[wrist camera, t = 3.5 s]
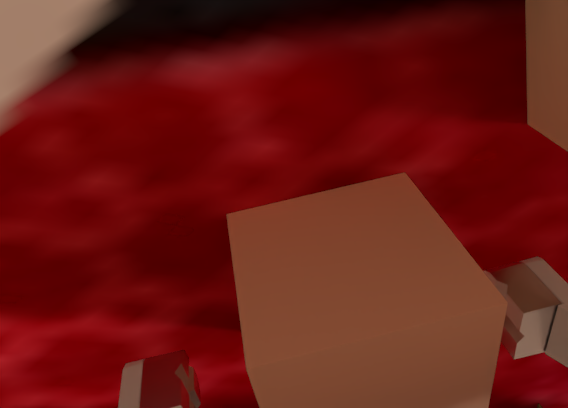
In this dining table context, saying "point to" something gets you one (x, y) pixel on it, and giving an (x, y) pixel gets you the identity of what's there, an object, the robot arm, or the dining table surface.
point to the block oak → (547, 68)
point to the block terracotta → (363, 302)
